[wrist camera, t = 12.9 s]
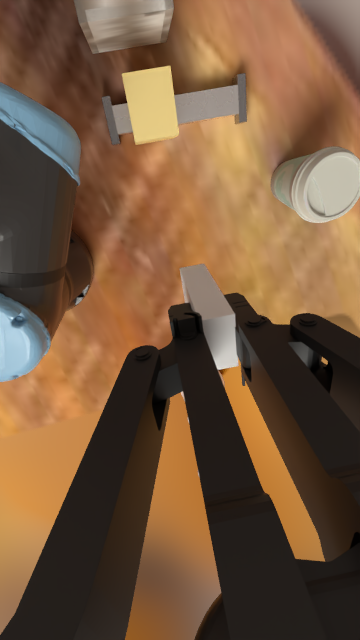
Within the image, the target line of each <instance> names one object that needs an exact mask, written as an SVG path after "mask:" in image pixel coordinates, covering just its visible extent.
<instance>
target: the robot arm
mask: <svg viewBox="0 0 360 640" xmlns="http://www.w3.org/2000/svg"><path fill="white" fill-rule="evenodd" d="M80 155H81V144H80V140H79V138H78V135H77V133H76V132H75V130H74V129H73V128H72V126H71V125H70V124H69V123H68V122H67V121H65V120H64V119H63V118H61V117H60V116H59V115H57V114H56V113H54V112H53V111H51V110H49V109H48V108H46V107H45V106H43V105H41V104H40V103H38V102H36V101H34V100H33V99H31V98H29V97H27V96H25V95H24V94H22V93H20V92H18V91H16V90H15V89H13V88H11V87H9V86H7V85H5V84H3V83H1V82H0V382H3V381H9V380H13V379H16V378H18V377H19V376H22V375H25V374H27V373H29V372H30V371H32V370H33V369H34V368H35V367H36V366H37V365H38V363H39V362H40V360H41V359H42V357H43V356H44V355H45V354H47V352H48V349H49V348H50V345H51V340H52V338H53V336H54V334H55V332H56V330H57V328H58V326H59V324H60V322H61V320H62V318H63V315H64V313H65V312H66V311H68V310H70V309H72V308H73V307H75V306H76V305H78V304H79V303H80V302H81V301H82V300H83V298H84V297H85V296H86V294H87V292H88V290H89V288H90V285H91V282H92V279H93V263H92V259H91V256H90V253H89V251H88V249H87V247H86V246H85V244H84V243H83V241H82V240H81V239H80V238H79V237H78V236H77V235H76V234H75V233H74V232H73V231H72V230H71V227H72V220H73V212H74V205H75V197H76V190H77V186H79V185H80V178H79V166H80ZM180 274H181V280H182V286H183V292H184V299H185V303H184V304H179V305H173V306H171V307H170V309H169V310H168V314H169V319H170V326H171V331H172V336H173V339H172V341H171V343H170V344H169V345H167V346H166V347H164V348H162V349H160V350H158V349H157V348H156V347H154V346H148V345H145V346H140V347H137V348H135V349H133V350H132V351H131V352H129V354H128V355H127V357H126V359H125V362H124V364H123V366H122V368H121V371H120V373H119V375H118V378H117V380H116V382H115V385H114V387H113V389H112V391H111V394H110V396H109V398H108V401H107V403H106V405H105V408H104V410H103V412H102V414H101V417H100V419H99V421H98V424H97V426H96V428H95V431H94V433H93V435H92V438H91V440H90V442H89V444H88V447H87V449H86V451H85V454H84V456H83V458H82V461H81V463H80V465H79V468H78V470H77V472H76V474H75V477H74V479H73V481H72V484H71V486H70V488H69V491H68V493H67V495H66V498H65V500H64V502H63V504H62V507H61V509H60V511H59V514H58V516H57V518H56V520H55V523H54V525H53V527H52V530H51V532H50V534H49V537H48V539H47V541H46V543H45V546H44V548H43V550H42V553H41V555H40V557H39V560H38V562H37V564H36V567H35V569H34V571H33V573H32V576H31V578H30V580H29V583H28V585H27V587H26V589H25V592H24V594H23V597H22V599H21V601H20V603H19V606H18V608H17V610H16V613H15V615H14V616H13V617H12V619H11V620H10V622H9V623H8V625H7V626H6V628H5V629H4V631H3V632H2V634H1V635H0V640H125V636H126V632H127V627H128V622H129V617H130V611H131V606H132V601H133V596H134V590H135V585H136V579H137V574H138V569H139V564H140V558H141V553H142V547H143V542H144V537H145V531H146V526H147V521H148V516H149V511H150V504H151V500H152V495H153V489H154V484H155V479H156V474H157V468H158V463H159V458H160V452H161V447H162V442H163V436H164V431H165V426H166V421H167V415H168V410H169V405H170V397H172V396H174V395H176V394H178V393H180V392H182V391H183V393H184V398H185V404H186V409H187V413H188V419H189V424H190V430H191V435H192V440H193V445H194V450H195V456H196V461H197V466H198V472H199V477H200V482H201V487H202V492H203V497H204V502H205V509H206V514H207V519H208V524H209V530H210V535H211V540H212V545H213V551H214V556H215V561H216V566H217V571H218V577H219V582H220V587H221V592H222V593H221V594H220V595H219V596H218V597H217V598H216V600H215V601H214V602H213V603H212V605H211V607H210V608H209V610H208V611H207V613H206V614H205V616H204V618H203V620H202V622H201V624H200V626H199V629H198V631H197V634H196V636H195V640H360V338H359V337H357V336H355V335H353V334H351V333H350V332H348V331H346V330H344V329H342V328H341V327H339V326H337V325H335V324H333V323H331V322H330V321H328V320H326V319H324V318H322V317H320V316H318V315H315V314H310V313H306V314H305V313H303V314H298V315H295V316H293V317H292V318H291V320H290V325H277V324H273V323H272V322H271V321H270V320H269V319H268V318H267V317H265V316H262V315H258V314H257V313H256V312H255V311H254V309H253V308H252V307H251V305H250V304H249V303H248V301H247V300H246V299H245V297H244V296H243V295H240V294H238V293H232V294H227V295H223V294H222V292H221V290H220V289H219V287H218V286H217V284H216V282H215V281H214V279H213V277H212V276H211V274H210V273H209V271H208V269H207V268H206V266H205V265H204V264H199V265H194V266H188V267H183V268H180ZM322 357H323V358H325V359H326V360H327V361H328V364H327V365H326V364H324V363H323V362H321V359H322ZM238 358H239V360H240V362H241V372H242V385H243V386H245V381H246V383H247V385H248V387H249V389H250V391H251V393H252V395H253V397H254V400H255V402H256V404H257V406H258V408H259V410H260V412H261V414H262V416H263V419H264V421H265V423H266V425H267V427H268V429H269V431H270V433H271V435H272V437H273V439H274V442H275V444H276V446H277V448H278V450H279V452H280V454H281V457H282V459H283V461H284V463H285V465H286V467H287V469H288V471H289V473H290V476H291V478H292V480H293V482H294V484H295V486H296V488H297V490H298V492H299V494H300V497H301V499H302V501H303V503H304V505H305V507H306V509H307V511H308V513H309V516H310V518H311V520H312V522H313V524H314V526H315V528H316V530H317V533H318V535H319V539H320V542H321V547H322V552H323V555H324V558H325V562H322V561H311V560H301V559H295V557H294V554H293V552H292V549H291V547H290V544H289V542H288V539H287V537H286V534H285V531H284V529H283V526H282V524H281V521H280V519H279V516H278V514H277V511H276V509H275V506H274V504H273V502H272V500H271V498H270V496H269V495H268V494H267V493H265V492H264V491H263V489H262V486H261V484H260V481H259V479H258V476H257V473H256V471H255V468H254V465H253V463H252V460H251V457H250V455H249V452H248V449H247V447H246V444H245V441H244V439H243V436H242V433H241V431H240V428H239V426H238V423H237V420H236V417H235V415H234V412H233V409H232V407H231V404H230V401H229V399H228V396H227V393H226V391H225V388H224V385H223V383H222V380H221V377H220V375H219V372H218V370H221V369H226V368H230V367H235V366H238Z"/></svg>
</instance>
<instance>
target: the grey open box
mask: <svg viewBox="0 0 360 640" xmlns="http://www.w3.org/2000/svg"><path fill="white" fill-rule="evenodd" d="M74 4H75V8H76V12H77V16H78V21H79V24H80V26H81V29H82V31H83V33H84V35H85V38H86V40H87V42H88V44H89V47H90V49H91V51H92V53H93V54H95V53H101V52H108V51H114V50H120V49H126V48H132V47H139V46H145V45H151V44H157V43H163V42H166V41H167V37H168V33H169V28H170V24H171V19H172V15H173V11H174V4H173V0H74Z"/></svg>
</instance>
